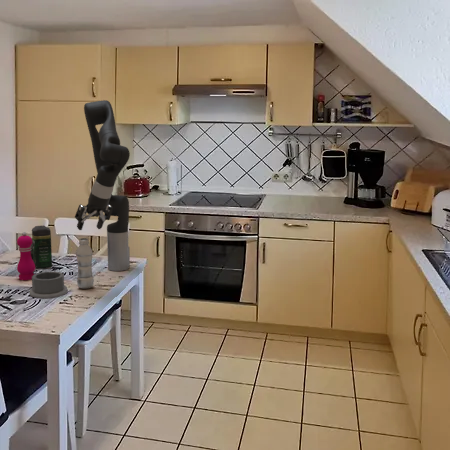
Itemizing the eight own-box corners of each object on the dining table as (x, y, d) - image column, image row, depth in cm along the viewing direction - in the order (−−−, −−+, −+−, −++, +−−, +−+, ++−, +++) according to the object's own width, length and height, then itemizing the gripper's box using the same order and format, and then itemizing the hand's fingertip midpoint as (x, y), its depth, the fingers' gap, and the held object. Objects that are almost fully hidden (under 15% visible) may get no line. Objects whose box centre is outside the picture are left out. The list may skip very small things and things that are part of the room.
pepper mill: (30, 281, 226) (27, 234, 222) (14, 280, 228) (11, 233, 224) (39, 276, 233) (36, 230, 229) (23, 275, 234) (21, 229, 231)
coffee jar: (53, 268, 246) (51, 227, 242) (35, 270, 242) (33, 229, 239) (50, 262, 254) (48, 223, 251) (32, 264, 251) (30, 225, 247)
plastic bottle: (97, 286, 221) (95, 238, 217) (87, 291, 215) (86, 241, 211) (83, 284, 223) (81, 236, 219) (73, 289, 217) (71, 240, 213)
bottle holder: (47, 284, 222) (46, 269, 221) (75, 289, 216) (74, 273, 215) (21, 294, 209) (20, 278, 208) (49, 300, 204) (49, 283, 202)
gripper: (112, 187, 212) (99, 222, 219) (79, 187, 202) (67, 223, 209) (122, 198, 208) (109, 233, 215) (89, 198, 198) (77, 235, 204)
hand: (88, 228), depth 212 cm, fingers open, 8 cm apart
